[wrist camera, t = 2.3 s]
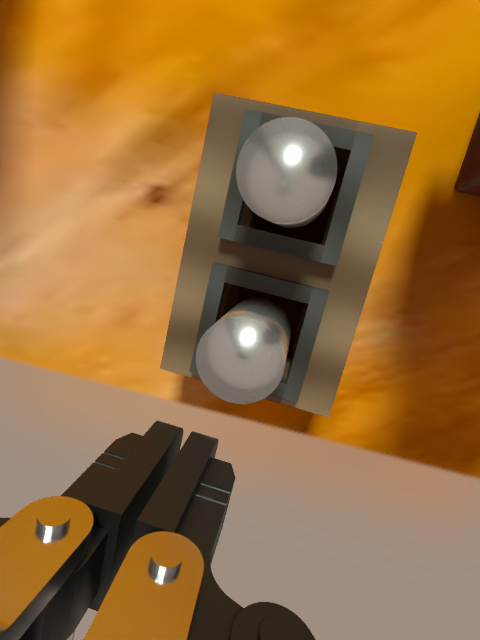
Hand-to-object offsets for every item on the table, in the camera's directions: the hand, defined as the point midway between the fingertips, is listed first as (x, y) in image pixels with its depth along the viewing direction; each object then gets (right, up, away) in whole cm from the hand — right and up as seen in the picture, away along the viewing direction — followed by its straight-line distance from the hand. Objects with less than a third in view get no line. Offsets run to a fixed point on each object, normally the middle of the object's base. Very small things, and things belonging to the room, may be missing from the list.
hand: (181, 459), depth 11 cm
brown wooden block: (+5, +9, +21) cm, 23 cm away
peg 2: (+3, +3, +15) cm, 16 cm away
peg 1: (+5, +12, +13) cm, 18 cm away
